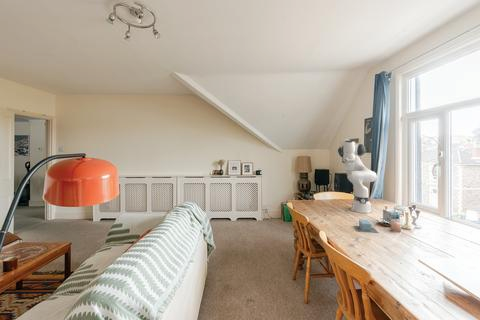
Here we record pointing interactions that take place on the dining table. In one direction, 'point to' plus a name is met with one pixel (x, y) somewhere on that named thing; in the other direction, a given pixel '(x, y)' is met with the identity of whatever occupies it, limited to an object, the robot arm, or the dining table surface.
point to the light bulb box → (391, 215)
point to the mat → (365, 231)
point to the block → (365, 225)
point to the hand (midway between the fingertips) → (348, 175)
